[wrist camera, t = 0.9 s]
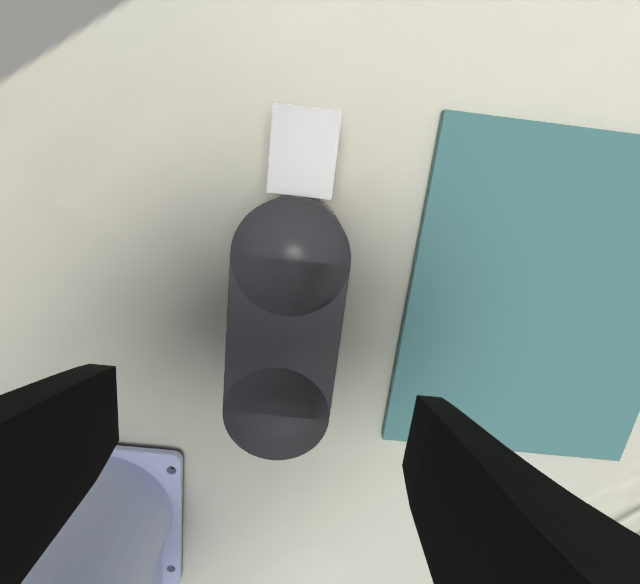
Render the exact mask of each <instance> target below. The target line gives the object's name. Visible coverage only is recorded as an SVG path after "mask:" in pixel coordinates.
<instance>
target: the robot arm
mask: <svg viewBox="0 0 640 584" xmlns="http://www.w3.org/2000/svg"><path fill="white" fill-rule="evenodd" d="M118 441H119V429H118V406H117V384H116V366H107V365H97V364H87V365H83V366H79V367H76V368H73V369H70V370H67V371H64V372H61V373H58V374H56V375H53V376H50V377H47V378H45V379H42V380H39V381H37V382H34V383H31V384H29V385H26V386H23V387H21V388H18V389H16V390H13V391H10V392H8V393H5V394H2V395H0V584H179V582H180V579H181V569H182V496H183V457H182V455H181V453H179V452H178V451H174V450H164V449H152V448H141V447H130V446H119V445H117V443H118ZM170 466H172V467H174V468H175V469H172V468H170ZM402 466H403V472H404V478H405V484H406V489H407V495H408V500H409V505H410V509H411V512H412V515H413V519H414V522H415V525H416V529H417V532H418V535H419V538H420V542H421V545H422V548H423V551H424V554H425V557H426V561H427V564H428V567H429V570H430V573H431V576H432V580H433V583H434V584H640V536H639V535H638V534H636V533H634V532H633V531H631V530H629V529H627V528H626V527H624V526H623V525H621V524H619V523H618V522H616V521H615V520H613V519H611V518H610V517H608V516H607V515H605V514H603V513H602V512H600V511H599V510H597V509H595V508H594V507H592V506H590V505H589V504H587V503H586V502H584V501H583V500H581V499H580V498H578V497H577V496H575V495H574V494H572V493H570V492H569V491H567V490H566V489H565V488H563V487H562V486H560V485H559V484H557V483H556V482H555V481H553V480H552V479H550V478H549V477H547V476H546V475H545V474H543V473H542V472H540V471H539V470H537V469H536V468H535V467H533V466H532V465H531V464H529V463H528V462H526V461H525V460H524V459H522V458H521V457H520V456H518V455H517V454H516V453H514V452H513V451H512V450H510V449H509V448H508V447H506V446H505V445H504V444H503V443H501V442H500V441H499V440H497V439H496V438H495V437H494V436H492V435H491V434H490V433H488V432H487V431H486V430H485V429H483V428H482V427H481V426H480V425H478V424H477V423H476V422H474V421H473V420H472V419H471V418H469V417H468V416H467V415H466V414H464V413H463V412H462V411H460V410H459V409H458V408H456V407H455V406H454V405H452V404H451V403H450V402H448V401H447V400H445V399H444V398H442V397H434V396H423V395H417V396H416V401H415V406H414V411H413V416H412V421H411V425H410V430H409V435H408V440H407V445H406V449H405V454H404V459H403V464H402Z"/></svg>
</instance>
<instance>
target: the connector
mask: <svg viewBox="0 0 640 584" xmlns="http://www.w3.org/2000/svg"><path fill="white" fill-rule="evenodd" d="M341 117H342V111H338V110H330V109H322V108H314V107H306V106H298V105H290V104H282V103H275V102H273V106H272V120H271V134H270V148H269V162H268V176H267V190H266V192H268V193H276V194H285V195H284V196H282V197H279V198H276V199H274V200H271V201H269V202H266V203H264V204H262V205H260V206H258V207H257V208H255V209H254V210H252V211H251V212H250V213H249V214H248V215H247V216H246V217H245V218H244V219H243V221H242V222H241V223H240V225H239V226H238V228H237V230H236V232H235V234H234V237H233V240H232V244H231V251H230V268H229V290H228V311H227V332H226V353H225V374H224V395H223V420H224V424H225V427H226V430H227V432H228V434H229V435H230V437H231V438H232V440H233V441H234V442H235V443H236V444H237V445H238V446H239V447H241V448H242V449H243V450H245V451H246V452H248V453H250V454H252V455H254V456H257V457H260V458H264V459H269V460H286V459H291V458H295V457H298V456H300V455H303V454H305V453H306V452H308V451H310V450H311V449H312V448H314V447H315V446H316V445H317V444H318V443H319V442H320V440H321V439H322V438H323V436H324V434H325V432H326V429H327V427H328V422H329V416H330V409H331V402H332V395H333V387H334V380H335V373H336V366H337V359H338V351H339V344H340V337H341V330H342V323H343V316H344V308H345V301H346V294H347V287H348V280H349V272H350V264H351V252H350V246H349V242H348V239H347V236H346V234H345V232H344V230H343V228H342V226H341V225H340V223H339V221H338V219H337V218H336V216H335V214H334V213H333V211H332V210H331V209H330V208H329V207H328V206H327V205H326V204H325V203H324V202H322V201H321V200H319V199H327V200H332V193H333V184H334V176H335V168H336V159H337V151H338V142H339V134H340V126H341ZM317 198H319V199H317Z"/></svg>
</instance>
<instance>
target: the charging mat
mask: <svg viewBox="0 0 640 584" xmlns="http://www.w3.org/2000/svg"><path fill="white" fill-rule="evenodd" d="M417 395H423V396H434V397H442V398H444V399H445V400H447V401H448V402H450V403H451V404H452V405H454V406H455V407H456V408H458V409H459V410H460V411H462V412H463V413H464V414H466V415H467V416H468V417H469V418H471V419H472V420H473V421H474V422H476V423H477V424H478V425H480V426H481V427H482V428H483V429H485V430H486V431H487V432H488V433H490V434H491V435H492V436H494V437H495V438H496V439H497V440H499V441H500V442H501V443H503V444H504V445H505V446H506V447H508V448H509V449H510V450H512V451H516V452H527V453H538V454H549V455H559V456H570V457H581V458H592V459H603V460H614V461H620V458H621V456H622V453H623V451H624V448H625V446H626V443H627V441H628V438H629V436H630V433H631V431H632V429H633V426H634V424H635V421H636V419H637V416H638V414H639V411H640V134H632V133H624V132H616V131H609V130H601V129H593V128H585V127H577V126H570V125H562V124H554V123H546V122H538V121H531V120H523V119H515V118H507V117H499V116H491V115H484V114H476V113H468V112H460V111H452V110H443V111H442V114H441V119H440V124H439V130H438V135H437V140H436V146H435V151H434V156H433V162H432V167H431V173H430V178H429V183H428V189H427V194H426V199H425V205H424V210H423V215H422V221H421V226H420V231H419V237H418V242H417V247H416V253H415V258H414V263H413V269H412V274H411V280H410V285H409V290H408V296H407V301H406V306H405V312H404V317H403V322H402V328H401V333H400V338H399V344H398V349H397V354H396V360H395V365H394V371H393V376H392V381H391V387H390V392H389V397H388V403H387V408H386V413H385V419H384V424H383V429H382V438H383V439H385V440H396V441H407V440H408V435H409V430H410V425H411V421H412V416H413V411H414V406H415V401H416V396H417Z"/></svg>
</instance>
